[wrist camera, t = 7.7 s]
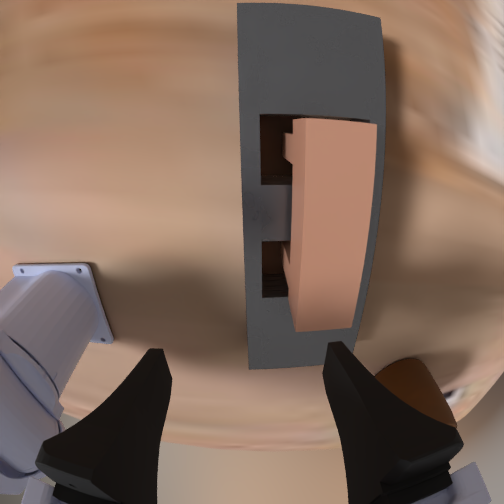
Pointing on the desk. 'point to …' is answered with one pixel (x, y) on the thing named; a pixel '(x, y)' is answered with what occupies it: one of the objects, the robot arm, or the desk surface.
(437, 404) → the mug
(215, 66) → the desk surface
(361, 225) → the tan tabbed block
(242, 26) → the grey slotted tapered plate
